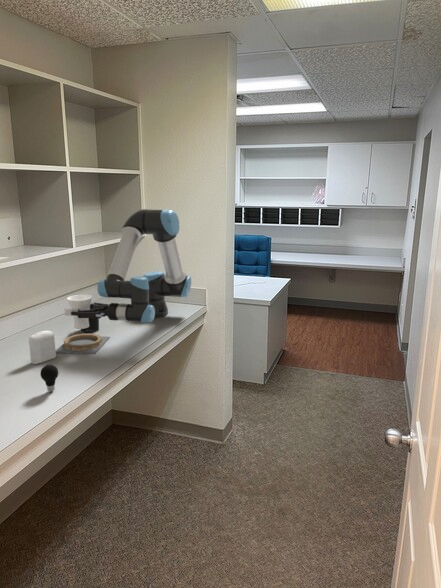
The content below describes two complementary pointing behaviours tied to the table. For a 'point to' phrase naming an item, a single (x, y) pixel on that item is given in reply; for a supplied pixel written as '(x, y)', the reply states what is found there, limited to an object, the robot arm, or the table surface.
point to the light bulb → (49, 376)
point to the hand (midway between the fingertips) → (70, 309)
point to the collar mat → (82, 342)
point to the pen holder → (92, 325)
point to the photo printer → (42, 347)
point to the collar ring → (85, 346)
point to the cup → (82, 304)
